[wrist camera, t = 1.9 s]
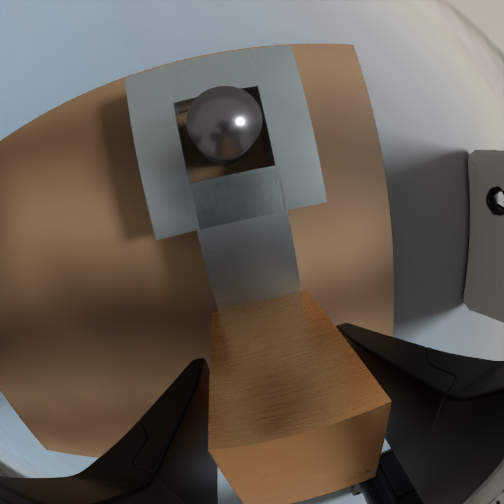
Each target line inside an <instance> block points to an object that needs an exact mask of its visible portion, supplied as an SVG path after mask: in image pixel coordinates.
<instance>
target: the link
mask: <svg viewBox="0 0 504 504" xmlns="http://www.w3.org/2000/svg"><path fill="white" fill-rule="evenodd" d="M125 85H126V93H127V100H128V107H129V114H130V121H131V127H132V133H133V138H134V144H135V149H136V155H137V160H138V165H139V170H140V175H141V179H142V184H143V188H144V193H145V197H146V201H147V206H148V210H149V214H150V218H151V222H152V226H153V230H154V233H155V237H156V240H160V239H164V238H168V237H172V236H176V235H180V234H184V233H188V232H192V231H196V230H197V233H198V237H199V241H200V245H201V249H202V253H203V257H204V261H205V265H206V268H207V272H208V276H209V280H210V283H211V287H212V291H213V294H214V298H215V301H216V305H217V308H218V311H215V312H212V326H211V348H210V377H209V427H208V451H209V453H210V454H211V456H212V458H213V459H214V461H215V463H216V464H217V466H218V467H219V469H220V470H221V472H222V473H223V475H224V476H225V478H226V479H227V481H228V482H229V484H230V485H231V487H232V488H233V490H234V491H235V492H236V494H237V495H238V497H239V498H240V499H241V501H242V502H243V504H291V503H296V502H300V501H304V500H308V499H311V498H315V497H319V496H322V495H325V494H329V493H332V492H335V491H338V490H341V489H344V488H347V487H350V486H352V485H355V484H358V483H360V482H363V481H365V480H368V479H370V478H373V477H375V474H376V470H377V467H378V463H379V459H380V455H381V451H382V447H383V443H384V438H385V434H386V429H387V424H388V419H389V414H390V408H391V402H392V401H391V399H390V398H389V397H388V395H387V394H386V393H385V391H384V390H383V389H382V387H381V386H380V385H379V383H378V382H377V380H376V379H375V378H374V376H373V375H372V374H371V372H370V371H369V370H368V368H367V367H366V366H365V364H364V363H363V362H362V360H361V359H360V358H359V356H358V355H357V354H356V352H355V351H354V350H353V349H352V347H351V346H350V345H349V343H348V342H347V341H346V339H345V338H344V337H343V335H342V334H341V333H340V331H339V330H338V329H337V328H336V326H335V325H334V324H333V322H332V321H331V320H330V318H329V317H328V316H327V315H326V313H325V312H324V311H323V309H322V308H321V307H320V305H319V304H318V303H317V302H316V300H315V299H314V298H313V296H312V295H311V294H310V293H309V291H308V290H304V291H301V285H300V279H299V272H298V266H297V260H296V254H295V248H294V242H293V237H292V231H291V225H290V220H289V215H288V210H291V209H296V208H301V207H306V206H311V205H316V204H321V203H326V202H327V199H326V193H325V187H324V182H323V176H322V171H321V165H320V160H319V155H318V150H317V146H316V141H315V136H314V132H313V127H312V123H311V118H310V114H309V110H308V106H307V102H306V98H305V94H304V90H303V86H302V82H301V79H300V75H299V71H298V68H297V64H296V61H295V57H294V54H293V51H292V47H291V45H290V46H274V47H263V48H254V49H245V50H238V51H231V52H225V53H219V54H214V55H208V56H203V57H199V58H194V59H190V60H185V61H181V62H177V63H173V64H169V65H166V66H162V67H159V68H155V69H152V70H149V71H145V72H142V73H139V74H136V75H133V76H130V77H127V78H125ZM217 86H233V87H237V88H240V89H242V90H244V91H246V92H247V93H249V94H250V95H251V96H252V97H254V99H255V100H256V102H257V103H258V105H259V107H260V110H261V113H262V128H261V133H262V137H263V142H264V146H265V151H266V156H267V160H268V165H269V167H265V168H260V169H255V170H250V171H245V172H240V173H235V174H230V175H226V176H221V177H217V178H213V179H208V180H204V181H200V182H196V183H193V179H192V175H191V170H190V166H189V161H188V156H187V151H186V147H185V142H184V137H183V132H182V127H181V122H180V116H179V112H182V111H186V110H189V108H190V106H191V104H192V102H193V101H194V100H195V99H196V98H197V97H198V96H199V95H200V94H201V93H203V92H204V91H206V90H208V89H211V88H213V87H217Z"/></svg>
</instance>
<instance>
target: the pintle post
mask: <svg viewBox="0 0 504 504" xmlns="http://www.w3.org/2000/svg"><path fill="white" fill-rule="evenodd" d="M186 125H187V131H188V134H189V136H190V138H191V139H192V141H193V142H194V144H195V145H196V147H197V148H198V150H199V151H200V152H201V154H202V155H203V156H204V157H205V158H206V159H207V160H208V161H210V162H212V163H214V164H218V165H227V164H232V163H234V162H236V161H238V160H239V159H240V158H242V157H243V155H244V154H245V153H246V152H247V150H248V149H249V148H250V147H251V145H252V144H253V143H254V142H255V141H256V139H257V137H258V136H259V134H260V131H261V128H262V113H261V110H260V107H259V105H258V103H257V102H256V100H255V99H254V98H253V97H252V96H251V95H250V94H249V93H247V92H246V91H244V90H242V89H240V88H237V87H233V86H217V87H213V88H211V89H208V90H206V91H204V92H203V93H201V94H200V95H199V96H198V97H197V98H196V99H195V100H194V101H193V102H192V104H191V106H190V108H189V110H188V113H187V118H186Z"/></svg>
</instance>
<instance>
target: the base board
mask: <svg viewBox="0 0 504 504" xmlns="http://www.w3.org/2000/svg"><path fill="white" fill-rule="evenodd" d="M290 45H291V47H292V51H293V54H294V57H295V61H296V64H297V68H298V71H299V75H300V79H301V82H302V86H303V90H304V94H305V98H306V102H307V106H308V110H309V114H310V118H311V123H312V127H313V132H314V136H315V141H316V146H317V150H318V155H319V160H320V165H321V171H322V176H323V182H324V187H325V193H326V199H327V202H326V203H321V204H316V205H311V206H306V207H301V208H296V209H291V210H288V215H289V220H290V225H291V231H292V237H293V242H294V248H295V254H296V260H297V266H298V272H299V279H300V285H301V291H304V290H308V291H309V293H310V294H311V295H312V296H313V298H314V299H315V300H316V302H317V303H318V304H319V305H320V307H321V308H322V309H323V311H324V312H325V313H326V315H327V316H328V317H329V318H330V320H331V321H332V322H333V324H334V325H335V326H337V325H340V324H343V323H350V324H353V325H356V326H359V327H362V328H365V329H369V330H372V331H375V332H378V333H381V334H384V335H388V336H391V337H393V327H394V261H393V242H392V229H391V218H390V208H389V199H388V191H387V184H386V177H385V171H384V164H383V159H382V153H381V148H380V142H379V137H378V133H377V128H376V123H375V119H374V115H373V111H372V107H371V103H370V99H369V95H368V91H367V88H366V84H365V81H364V77H363V74H362V71H361V67H360V64H359V61H358V58H357V55H356V52H355V49H354V46H353V45H346V44H290ZM290 45H274V46H290ZM274 46H263V47H274ZM263 47H253V48H245V49H254V48H263ZM245 49H238V50H245ZM238 50H231V51H238ZM231 51H225V52H231ZM225 52H219V53H225ZM219 53H213V54H208V55H214V54H219ZM208 55H203V56H208ZM203 56H198V57H194V58H199V57H203ZM194 58H189V59H185V60H190V59H194ZM185 60H181V61H185ZM181 61H177V62H181ZM177 62H173V63H177ZM173 63H169V64H173ZM169 64H165V65H162V66H166V65H169ZM162 66H158V67H155V68H159V67H162ZM155 68H152V69H155ZM152 69H148V70H145V71H149V70H152ZM145 71H142V72H145ZM142 72H139V73H142ZM139 73H136V74H139ZM136 74H133V75H136ZM133 75H130V76H133ZM130 76H127V77H130ZM127 77H124V78H122V79H119V80H116V81H113V82H111V83H108V84H106V85H103V86H101V87H98V88H96V89H94V90H91V91H89V92H87V93H85V94H82V95H80V96H78V97H76V98H74V99H72V100H70V101H67V102H65V103H63V104H61V105H60V106H58V107H56V108H54V109H52V110H50V111H48V112H46V113H45V114H43V115H41V116H39V117H37V118H36V119H34V120H32V121H31V122H29V123H27V124H26V125H24V126H22V127H21V128H19V129H18V130H16V131H15V132H13V133H12V134H10V135H9V136H7V137H6V138H4V139H3V140H1V141H0V390H1V391H2V393H3V394H4V396H5V397H6V399H7V400H8V402H9V403H10V404H11V406H12V407H13V409H14V410H15V411H16V413H17V414H18V416H19V417H20V418H21V420H22V421H23V422H24V423H25V425H26V426H27V427H28V428H29V430H30V431H31V432H32V433H33V435H34V436H35V437H36V438H37V439H38V440H39V442H40V443H41V444H42V445H43V446H44V447H45V448H46V450H51V451H57V452H62V453H68V454H75V455H82V456H90V457H101V456H102V455H103V454H104V453H105V452H107V451H108V450H109V449H110V448H111V447H112V446H114V445H115V444H116V443H117V442H118V441H119V440H120V439H121V438H122V437H123V436H124V435H125V434H126V433H127V432H128V431H129V430H130V429H131V428H132V427H133V426H134V425H135V424H136V423H137V422H138V421H139V419H140V418H141V417H142V416H143V415H144V414H145V413H146V412H147V411H148V410H149V408H150V407H151V406H152V405H153V404H154V403H155V402H156V401H157V400H158V398H159V397H160V396H161V395H162V394H163V393H164V392H165V391H166V389H167V388H168V387H169V386H170V385H171V384H172V383H173V382H174V380H175V379H176V378H177V377H178V376H179V375H180V374H181V372H182V371H183V370H184V369H185V368H186V367H187V366H188V364H189V363H190V362H191V361H192V360H194V359H200V358H204V359H205V360H206V362H207V364H208V367H209V370H210V348H211V326H212V312H215V311H218V308H217V305H216V301H215V298H214V294H213V291H212V287H211V283H210V280H209V276H208V272H207V268H206V265H205V261H204V257H203V253H202V249H201V245H200V241H199V237H198V233H197V230H196V231H192V232H188V233H184V234H180V235H176V236H172V237H168V238H164V239H160V240H156V237H155V233H154V230H153V226H152V222H151V218H150V214H149V210H148V206H147V201H146V197H145V193H144V188H143V184H142V179H141V175H140V170H139V165H138V160H137V155H136V149H135V144H134V138H133V133H132V127H131V121H130V114H129V107H128V100H127V93H126V85H125V78H127ZM253 98H254V97H253ZM187 113H188V110H186V111H182V112H179V116H180V122H181V127H182V132H183V137H184V142H185V147H186V151H187V156H188V161H189V166H190V170H191V175H192V179H193V183H196V182H200V181H204V180H208V179H213V178H217V177H221V176H226V175H230V174H235V173H240V172H245V171H250V170H255V169H260V168H265V167H269V165H268V160H267V156H266V151H265V146H264V142H263V137H262V133H261V131H260V134H259V136H258V137H257V139H256V141H255V142H254V143H253V144H252V145H251V147H250V148H249V149H248V150H247V152H246V153H245V154H244V155H243V157H242V158H240V159H239V160H238V161H236V162H234V163H232V164H227V165H218V164H214V163H212V162H210V161H208V160H207V159H206V158H205V157H204V156H203V155H202V154H201V152H200V151H199V150H198V148H197V147H196V145H195V144H194V142H193V141H192V139H191V138H190V136H189V134H188V131H187V125H186V118H187Z"/></svg>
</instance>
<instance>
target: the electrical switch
mask: <svg viewBox="0 0 504 504" xmlns="http://www.w3.org/2000/svg"><path fill="white" fill-rule="evenodd" d="M468 174H469V191H470V235H469V253H468V265H467V275H466V283H465V290H464V297H463V298H464V303H465V304H466V306H467V307H468V309H469V310H472V311H475V312H477V313H480V314H483V315H486V316H488V317H491V318H493V319H496V320H499V321H501V322H504V207H502V206H501V205H499V204H498V193H499V192H500V191H501V192H503V194H504V151H497V150H475V151H474V152H472V153H471V154H470V155H469V158H468Z"/></svg>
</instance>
